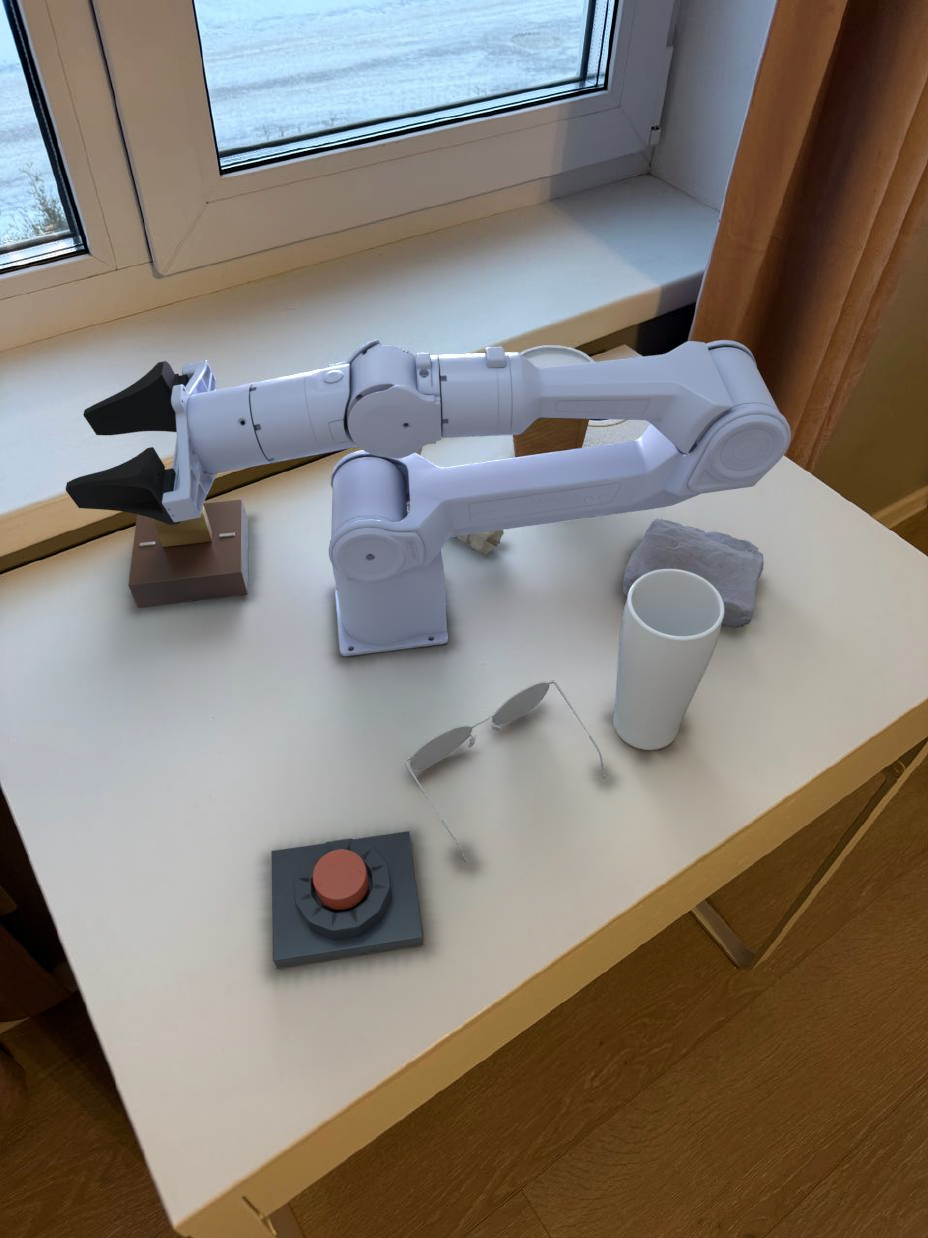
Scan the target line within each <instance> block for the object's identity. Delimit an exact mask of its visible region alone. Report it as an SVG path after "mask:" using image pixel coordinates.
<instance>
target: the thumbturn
mask: <svg viewBox="0 0 928 1238" xmlns="http://www.w3.org/2000/svg"><path fill="white" fill-rule="evenodd" d="M152 520H153V522H154V525H155V528H156V530H157V533H158V536H159V539H160V541H161V544H162V547H168V546H177V545H186V544H194V543H203V542H211V541H212V530H211V527H210V524H209V520H208V517H207V514H206V511H205V507H204V505H203V507H202V512H201V517H200V518H195V519H190V520H184V521H181V522H180V523H179V524H175V525H169V524H166V523H164V522H161V521H158V520H155V519H152Z"/></svg>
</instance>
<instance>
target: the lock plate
mask: <svg viewBox="0 0 928 1238" xmlns="http://www.w3.org/2000/svg"><path fill="white" fill-rule="evenodd" d="M203 505H204V507H205V511H206V514H207V517H208V520H209V524H210V527H211V530H212V541H211V542H203V543H194V544H186V545H177V546H168V547H162V544H161V541H160V539H159V536H158V533H157V530H156V528H155V525H154V522H153V520H152V518H149V517H146V516H142V515H138V514H136V519H135V528H134V535H133V544H132V552H131V561H130V567H129V577H128V584H127V586H128V588H129V590H130V592H131V595H132V598H133V600H134V602H135V604H136V607H137V608H144V607H152V606H163V605H169V604H179V603H186V602H196V601H205V600H212V599H219V598H221V599H222V598H228V597H236V596H237V597H238V596H245V595H249V519H248V515H247V512H246V507H245V504H244V500H243V499H231V500H223V501H214V502H213V501H212V502H204V503H203Z"/></svg>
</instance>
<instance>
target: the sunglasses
mask: <svg viewBox="0 0 928 1238" xmlns="http://www.w3.org/2000/svg"><path fill="white" fill-rule="evenodd" d="M551 684H553V685H554V686H555V687H556V688H557V690H558V692H559V693H560V695H561V697H563V700H564V701H565V702H566V703H567V705H568V706H569V708H570V710H571V711H572V713H573V714H574V715H575V717H576V718H577V720H578V722H579V723H580V725H581V726H582V728H583V729H584V730H585V732H586V733H587V735H588V738H589V740H591V742H592V744H593V746H594V747H595V749H596V751H597V752H598V755H599V760H600V767H601V769H600V770H601V776H602V778H603V779H604V780H606V772H605V768H604V761H603V755H602V752H601V750H600V748H599V746H598V744H597V743H596V741H595V740H594V738H593V736H592V735H591V734H590V733H589V732H588V730H587V728H586V727H585V726H584V723H583V722H582V720H581V718H580V717H579V716H578V714H577V712H576V710H575V709H574V708H573V706H572V704H571V703H570V701H569V700H568V698H567V696H566V695H565V693H564V692H563V690H562V688H561V687H560V685H559V684H558V683H557V681H555V680H553V679H552V680H550V681H539V682H536V683H533V684H531V685H529V686H527V687H524V688H523V689H521V690H520V691H517V692H516V693H515V694H513V695H512V696H510V697H509V698H508V699H507V700H505V701H504V702H503V703H502V704H501V705H500V706H499V707H498V708H497V709H496V711H495V712H494V713H493V714H491V715H489V716H488V717H486V718H485V719H483V720H481V721H478V722H476V723H475V724H473V725H471V726H470V725H468V724H467V725H458V726H455V727H452V728H450V729H447V730H445V731H443V732H440V733H439V734H437V735H435V736H434V737H432V738H430V739H428V741H426V742H425V743H423V744H422V745H421V746H419V748H417V749H416V751H415V752H414V753H413V754H412V755H410V756H408V757H406V758H405V759H404V766H405V767H406V769H407V771H408V772H409V773H410V775H411V776H412V778H413V780H414V781H415V782H416V784H417V785H418V787H419V789H420V790H421V792H422V793H423V795H424V796H425V798H426V799H427V800H428V802H429V803H430V804H431V807H432V808H433V809H434V811H435V812H436V814H437V815H438V817H439V818H440V820H441V823H442V824H443V826H444V827H445V829H446V831H448V833H449V835H450V837H451V838H452V839H453V841H454V842H455V843H456V845H457V846H458V849H459V850H460V852H461V855H462V857H463V859H464V860H465V861H466V862H468V860H467V858H466V856H465V854H464V851H463V850H462V848H461V846H460V843H459V842H458V840H457V838H456V837H455V835H454V834H453V832H452V831H451V829H450V828H449V827H448V825H447V823H446V822H445V820H444V819H443V818H442V817H441V815H440V813H439V812H438V810H437V808H436V807H435V805H434V804H433V801H431V799H430V797H429V796H428V793H427V792H426V790H425V788H423V786H422V784H421V783H420V781H419V780H418V778H417V777H416V775H415V772H413V770H414V771H421V770H425V769H428V768H429V767H432V766H434V765H435V764H438V763H439V762H441V761H442V760H444V759H445V758H447V757H449V756H450V755H452V753H454V752H455V751H456V750H457V749H458V748H460V747H461V746H462V745H463V744H464V743H466V741H467V740H468V739H469V743H468V745H467V748H468V749H471V748H472V747H473V746H474V745H475V743H476V741H477V738H478V735H477V734H475V735H474V736H473V735H472V733H473V728H475V727H477V726H479V725H481V724H484V723H485V722H487V721H489V720H490V719H491V722H492V723H491V724H493V725H491V729H493V730H494V731H497V732H501V731H502V727H501V726H503V725H507V724H509V723H511V722H514V721H516V720H519V719H520V718H521V717H523V716H525V715H526V714H527V713H529V712H531V711H532V710H533V709H534V708H535V707H537V706H538V705H539V704H540V703H541V701H542V700H543V699H544V698H545V696H546V695H547V693H548V691H549V689H550V685H551ZM470 737H471V738H470ZM408 762H409V763H408Z"/></svg>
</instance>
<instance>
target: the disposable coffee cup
mask: <svg viewBox="0 0 928 1238" xmlns="http://www.w3.org/2000/svg"><path fill="white" fill-rule="evenodd" d="M519 353H520V354H521V355H522V356H523V357H525V358H526V359H527V360H528V361H529V362H531V363H532V364H533V365H534V366H536V367H537V368H544V367H554V366H563V365H572V364H581V363H590V362H595V360H594V359H593V358H592V357H590V356H589V355H588V354H587V353H586V352H584V351H581V350H579V349H576V348H574V347H569V346H565V345H556V344H549V345H547V344H546V345H539V346H533V347H529V348H526V349H525V350H522V351H521V352H519ZM589 423H590V419H579V418H543V417H540V418H538V419H536V420H535V421H534V422H533V423H532V424H531V425H530V426H529V427H528V428H527V429H526V430H525V431H524V432H522V433H521V434H519V435H512V443H513V451H514V458H516V457H523V456H530V455H537V454H544V453H551V452H558V451H565V450H572V449H579V448H583V446H584V442H585V439H586V434H587V430H588V427H589Z"/></svg>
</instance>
